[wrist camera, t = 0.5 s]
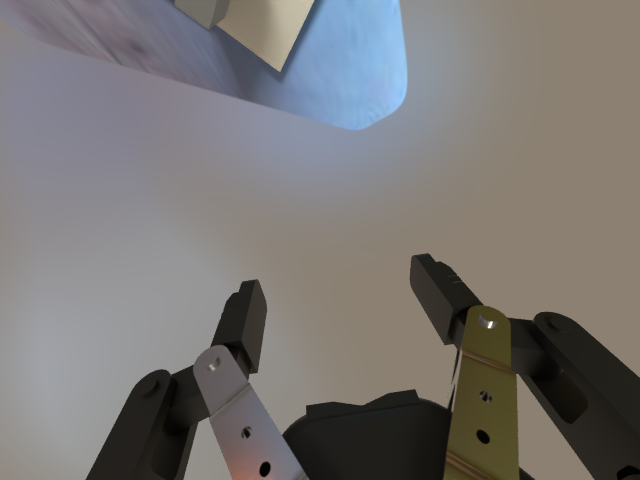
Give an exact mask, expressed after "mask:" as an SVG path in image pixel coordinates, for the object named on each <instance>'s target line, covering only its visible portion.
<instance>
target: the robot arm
mask: <svg viewBox="0 0 640 480" xmlns="http://www.w3.org/2000/svg"><path fill="white" fill-rule="evenodd" d="M410 284H411V287H412V290H413V292H414V293H415V295H416V297H417V298H418V300H419V302H420V303H421V305H422V307H423V309H424V311H425V312H426V314H427V316H428V317H429V319H430V321H431V322H432V324H433V326H434V328H435V329H436V331H437V333H438V335H439V336H440V338H441V340H442V341H443V343H444V345H449V344H454V345H455V346H456V348H457V352H456V357H455V363H454V368H453V374H452V379H451V384H450V390H449V394H448V399H447V404H446V408H445V407H443V406H441V405H439V404H437V403H435V402H432V401H430V400H426V399H422V398H418V395H417V393H416V390H415V389H413V390H407V391H400V392H394V393H388V394H386V395H384V396H382V397H380V398H378V399H375V400H373V401H371V402H370V403H367V404H365V405H362V406H361V405H352V404H346V403H339V402H328V403H320V404H314V405H307V406H306V415H304V416H303V417H301V418H299V419H298V420H296V421H295V422H294V423H293V424H291V425H290V426H289V428H287V430H286V431H285V432H284V433H283V434H282V435H281V433H280V432H279V430H278V428H277V427H276V425H275V424H274V422H273V420H272V419H271V417H270V416H269V414H268V412H267V411H266V409H265V407H264V406H263V404H262V403H261V401H260V399H259V398H258V396H257V394H256V393H255V391H254V390H253V388H252V387H251V385H250V383H248V379H249V374H253V373H258V366H259V360H260V353H261V346H262V340H263V333H264V327H265V319H266V313H267V304H266V300H265V297H264V294H263V292H262V289H261V286H260V283H259V281H258V280H257V279H256V280H249V281H243V282H242V283H241V287H240V289H239V292H237V293H233V294H232V295H231V296H230V298H229V299H228V300H227V301H226V304H225V307H224V312H223V313H222V315H221V319H220V321H219V324H218V327H217V329H216V332H215V335H214V338H213V341H212V344H211V346H210V348H208V349H207V350H205V351H204V352H203V353H202V354H201V355H200V356H199V357H198V358H197V360H196V361H195V363H194V365H192V366H190V367H188V368H185V369H183V370H181V371H179V372H177V373H175V374H172V375H171V374H170V373H169V372H168V371H167V370H163V369H161V370H156V371H154V372H152V373H149V374H148V375H146V376H145V377H144V378H142V379H141V380H140V381H139V382H138V383H137V384H136V385H135V387H134V388H133V390H132V391H131V393H130V395H129V397H128V399H127V401H126V403H125V405H124V407H123V408H122V410H121V412H120V414H119V416H118V418H117V420H116V422H115V424H114V426H113V428H112V430H111V432H110V434H109V436H108V438H107V439H106V442H105V443H104V445H103V447H102V449H101V451H100V453H99V455H98V457H97V459H96V461H95V463H94V465H93V467H92V468H91V470H90V472H89V474H88V476H87V478H86V480H183V479H184V475H185V471H186V467H187V464H188V460H189V456H190V452H191V448H192V444H193V440H194V436H195V433H196V429H197V425H198V422H199V421H201V420H203V419H205V418H207V417H209V421H210V424H211V426H212V429H213V431H214V434H215V436H216V439H217V441H218V444H219V446H220V449H221V451H222V454H223V456H224V459H225V461H226V464H227V466H228V469H229V471H230V474H231V476H232V479H233V480H535V479H534V478H532V477H531V476H530V475H529V474H528V473H526V472H525V471H524V470H523V469H521V468H520V467H519V453H518V415H517V414H518V411H517V376H516V374H519V375H520V376H521V378H522V379H523V381H524V382H525V384H526V385H527V386H528V388H529V389H530V391H531V392H532V393H533V395H534V396H535V397H536V399H537V400H538V402H539V403H540V404H541V406H542V407H543V409H544V410H545V411H546V413H547V414H548V416H549V417H550V418H551V420H552V421H553V422H554V424H555V425H556V426H557V428H558V429H559V431H560V432H561V434H562V435H563V436H564V438H565V439H566V440H567V442H568V443H569V445H570V446H571V447H572V449H573V450H574V451H575V453H576V454H577V456H578V457H579V459H580V460H581V461H582V463H583V464H584V465H585V467H586V468H587V470H588V471H589V472H590V474H591V475H592V477H593V478H594V479H595V480H640V378H639V377H638V376H637V375H636V374H635V373H634V372H633V371H631V370H630V369H629V368H628V367H627V366H626V365H624V364H623V363H622V362H621V361H620V360H619V359H618V358H617V357H615V356H614V355H613V354H612V353H611V352H610V351H609V350H608V349H606V348H605V347H604V346H603V345H602V344H601V343H600V342H598V341H597V340H596V339H595V338H594V337H593V336H591V335H590V334H589V333H588V332H587V331H586V330H585V329H584V328H582V327H581V326H580V325H579V324H578V323H576V322H575V321H574V320H572V319H570V318H568V317H566V316H564V315H561V314H558V313H553V312H540V313H538V314H537V315H536V316H535V317H534V319H533V321H532V320H523V319H514V318H507V317H506V316H505V315H504V314H503V313H502V312H500V311H499V310H497V309H495V308H492V307H489V306H484V305H483V304H482V303H481V302H480V300H479V299H478V298H477V297H476V296H475V295H474V293H473V292H472V291H471V290H470V289H469V288H468V287H467V286H466V284H465V283H464V282H462V280H461V279H460V278H459V276H457V274H456V273H455V272H454V271H453V270H452V269H451V267H449V266H447V265H446V264H444V263H442V262H435V261H434V259H433V258H432V257H431V255H430V254H428V253H427V254H420V255H414V256H412V258H411V269H410Z"/></svg>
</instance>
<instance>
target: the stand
mask: <svg viewBox="0 0 640 480" xmlns="http://www.w3.org/2000/svg"><path fill="white" fill-rule="evenodd" d="M313 2H314V0H175V4H174V5H175V6H176V7H177V8H179V9H180V10H182V11H183V12H184V13H186V14H187V15H188V16H190V17H191V18H193V19H194V20H195V21H197V22H198V23H200V24H201V25H202V26H204V27H205V28H207V29H208V30H210V29H211V28H212V27H213V26H215V25H217V26H218V27H220V28H221V29H222V30H224V31H225V32H226V33H228V34H229V35H230V36H232V37H233V38H234V39H236V40H237V41H239V42H240V43H241V44H243V45H244V46H245V47H247V48H248V49H249V50H251V51H252V52H253V53H255V54H256V55H257V56H259V57H260V58H261V59H263V60H264V61H265V62H267V63H268V64H270V65H271V66H272V67H274V68H275V69H276V70H278V71H279V72H280V71H281V69H282V67H283V65H284V63H285V61H286V59H287V56H288V54H289V52H290V50H291V48H292V46H293V44H294V42H295V40H296V38H297V36H298V33H299V31H300V29H301V27H302V25H303V23H304V21H305V19H306V17H307V15H308V13H309V10H310V8H311V6H312V4H313Z"/></svg>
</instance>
